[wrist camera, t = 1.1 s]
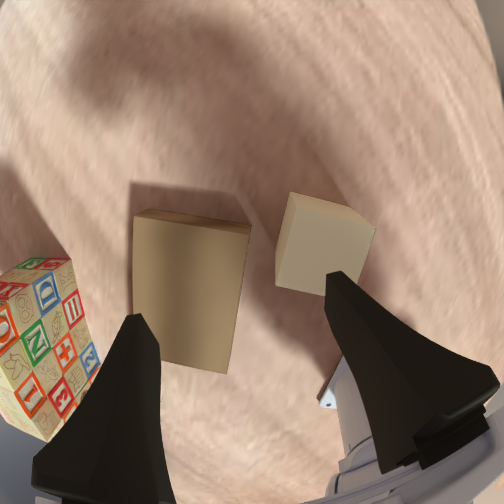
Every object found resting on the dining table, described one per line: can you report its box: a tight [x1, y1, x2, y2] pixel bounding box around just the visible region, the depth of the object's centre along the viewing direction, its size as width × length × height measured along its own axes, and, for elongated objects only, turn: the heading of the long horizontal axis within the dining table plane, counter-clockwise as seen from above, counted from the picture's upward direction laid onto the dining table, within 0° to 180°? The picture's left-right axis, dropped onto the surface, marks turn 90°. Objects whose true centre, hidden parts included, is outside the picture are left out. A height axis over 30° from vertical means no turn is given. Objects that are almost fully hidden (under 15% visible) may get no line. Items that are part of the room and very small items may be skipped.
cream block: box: [275, 192, 376, 296], centre depth 19 cm, size 4×4×6 cm
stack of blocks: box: [0, 258, 102, 443], centre depth 22 cm, size 21×6×12 cm, turn 1°
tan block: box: [132, 209, 251, 374], centre depth 23 cm, size 8×12×3 cm, turn 171°
